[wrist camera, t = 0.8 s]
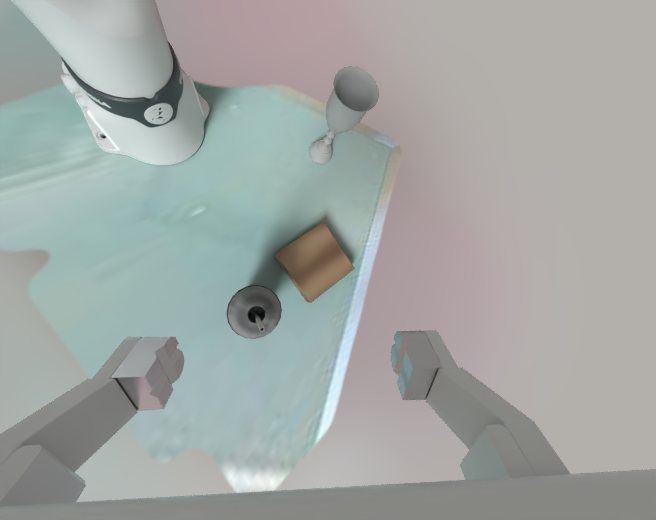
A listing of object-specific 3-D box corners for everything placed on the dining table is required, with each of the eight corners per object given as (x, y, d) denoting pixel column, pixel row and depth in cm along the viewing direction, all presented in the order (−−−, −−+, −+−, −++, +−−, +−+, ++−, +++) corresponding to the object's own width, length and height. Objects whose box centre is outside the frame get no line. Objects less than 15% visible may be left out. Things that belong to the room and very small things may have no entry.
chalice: (316, 174, 52) (351, 119, 35) (297, 145, 51) (323, 75, 35) (342, 159, 54) (387, 100, 38) (325, 131, 54) (362, 59, 37)
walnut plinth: (273, 255, 48) (275, 252, 45) (318, 225, 51) (323, 221, 48) (306, 301, 49) (310, 302, 46) (348, 269, 52) (354, 268, 49)
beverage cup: (265, 280, 47) (280, 275, 28) (278, 317, 47) (301, 337, 28) (225, 293, 44) (211, 298, 25) (238, 333, 44) (234, 366, 25)
